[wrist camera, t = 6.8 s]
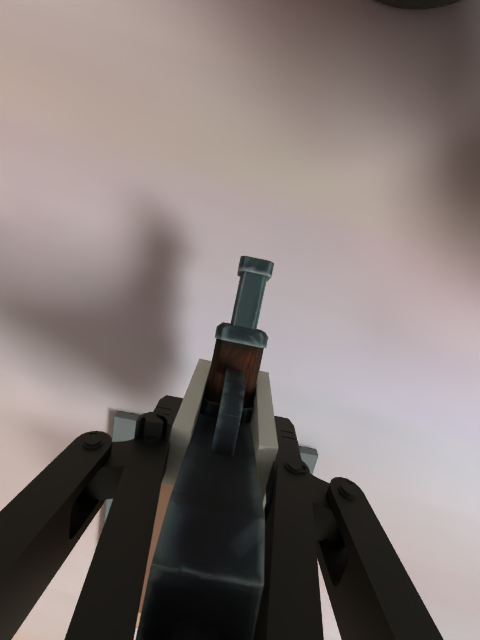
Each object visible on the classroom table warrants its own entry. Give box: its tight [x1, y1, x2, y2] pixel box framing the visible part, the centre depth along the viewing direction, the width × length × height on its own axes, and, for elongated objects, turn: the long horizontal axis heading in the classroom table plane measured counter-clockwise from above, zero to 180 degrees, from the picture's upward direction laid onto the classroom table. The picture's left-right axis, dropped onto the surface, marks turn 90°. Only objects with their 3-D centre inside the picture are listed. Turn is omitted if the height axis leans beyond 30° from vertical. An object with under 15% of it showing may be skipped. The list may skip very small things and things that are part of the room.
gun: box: [136, 256, 274, 640], centre depth 12 cm, size 3×17×15 cm
